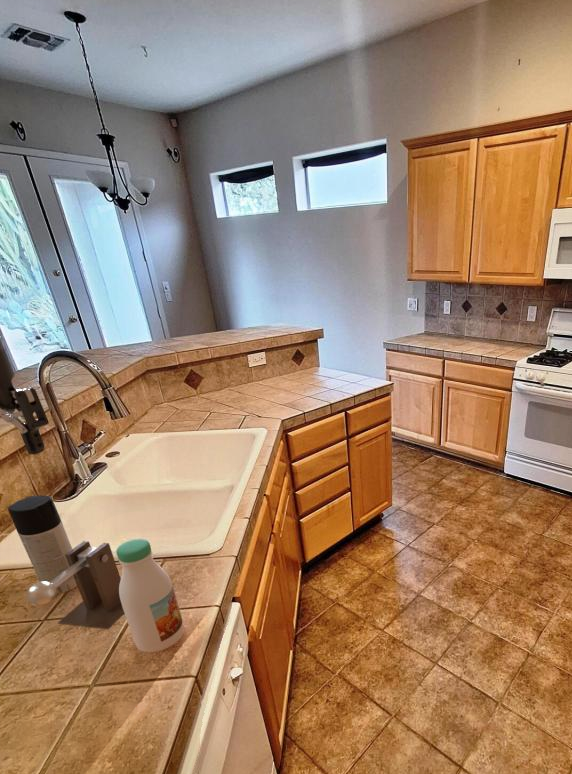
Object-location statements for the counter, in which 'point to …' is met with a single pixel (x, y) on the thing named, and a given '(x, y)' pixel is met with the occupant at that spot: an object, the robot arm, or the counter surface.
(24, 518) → the spray can
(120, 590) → the milk bottle
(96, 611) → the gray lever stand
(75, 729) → the counter surface
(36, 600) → the tap lever
